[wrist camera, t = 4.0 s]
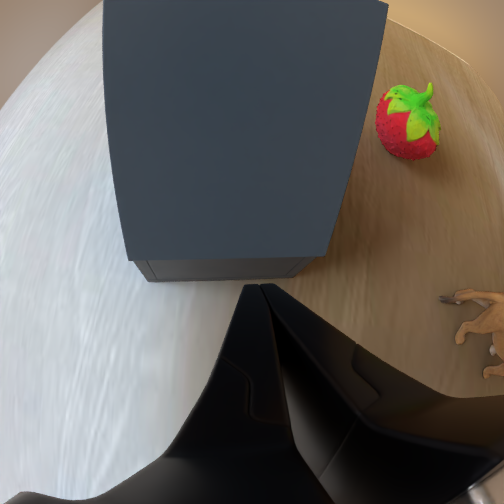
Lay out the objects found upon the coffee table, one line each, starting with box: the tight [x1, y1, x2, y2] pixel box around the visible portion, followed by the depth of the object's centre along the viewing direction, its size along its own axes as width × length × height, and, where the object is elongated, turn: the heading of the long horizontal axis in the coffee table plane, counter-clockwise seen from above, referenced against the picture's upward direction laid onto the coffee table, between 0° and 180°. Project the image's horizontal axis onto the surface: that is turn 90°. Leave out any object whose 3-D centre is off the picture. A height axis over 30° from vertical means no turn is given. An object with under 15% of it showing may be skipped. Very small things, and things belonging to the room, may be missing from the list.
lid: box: [102, 0, 389, 261], centre depth 12 cm, size 13×11×1 cm
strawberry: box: [375, 83, 441, 161], centre depth 24 cm, size 6×7×10 cm
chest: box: [134, 257, 316, 282], centre depth 22 cm, size 13×11×6 cm
